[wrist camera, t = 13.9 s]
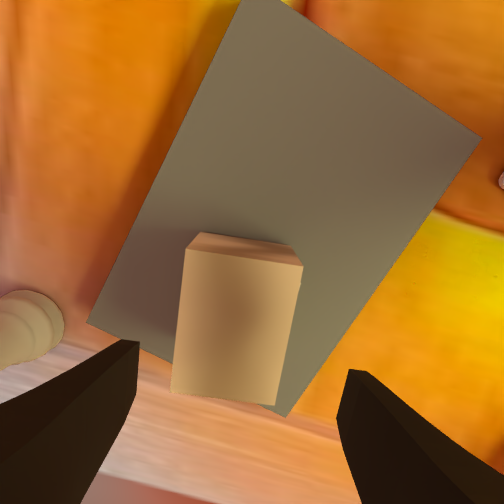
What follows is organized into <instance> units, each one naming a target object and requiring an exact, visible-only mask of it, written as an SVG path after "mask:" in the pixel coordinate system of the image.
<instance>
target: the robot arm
mask: <svg viewBox="0 0 504 504" xmlns="http://www.w3.org/2000/svg"><path fill="white" fill-rule="evenodd" d="M499 186H500V187H501V188H502V189H504V172H503V173H502V175H501V176H500V178H499ZM139 348H140V341H132V340H124V339H121V340H119V341H117V342H116V343H114V344H112V345H110V346H109V347H107V348H105V349H104V350H102V351H100V352H99V353H97V354H96V355H94V356H92V357H90V358H89V359H87V360H85V361H84V362H82V363H80V364H78V365H77V366H75V367H73V368H72V369H70V370H68V371H66V372H64V373H62V374H60V375H59V376H57V377H55V378H53V379H51V380H49V381H47V382H45V383H44V384H42V385H40V386H38V387H36V388H34V389H32V390H30V391H28V392H26V393H24V394H21V395H19V396H17V397H15V398H13V399H10V400H8V401H6V402H4V403H1V404H0V504H80V503H81V501H82V499H83V497H84V495H85V494H86V492H87V490H88V488H89V487H90V485H91V483H92V481H93V479H94V477H95V476H96V474H97V472H98V470H99V468H100V467H101V465H102V463H103V461H104V459H105V458H106V456H107V454H108V452H109V450H110V449H111V447H112V445H113V443H114V441H115V439H116V438H117V436H118V434H119V432H120V430H121V428H122V426H123V425H124V422H125V420H126V418H127V415H128V413H129V411H130V408H131V406H132V403H133V401H134V398H135V395H136V390H137V376H138V362H139ZM336 420H337V425H338V429H339V434H340V439H341V443H342V447H343V451H344V454H345V457H346V460H347V462H348V465H349V468H350V471H351V474H352V477H353V480H354V482H355V485H356V488H357V491H358V494H359V497H360V499H361V502H362V504H504V475H502V474H501V473H499V472H498V471H496V470H495V469H493V468H492V467H490V466H489V465H487V464H486V463H484V462H483V461H481V460H480V459H478V458H477V457H475V456H474V455H472V454H471V453H469V452H468V451H467V450H465V449H464V448H462V447H461V446H460V445H458V444H457V443H456V442H454V441H453V440H451V439H450V438H449V437H448V436H446V435H445V434H444V433H442V432H441V431H440V430H438V429H437V428H436V427H434V426H433V425H432V424H431V423H429V422H428V421H427V420H426V419H424V418H423V417H422V416H421V415H419V414H418V413H417V412H416V411H415V410H413V409H412V408H411V407H410V406H409V405H407V404H406V403H405V402H404V401H403V400H401V399H400V398H399V397H398V396H397V395H395V394H394V393H393V392H392V391H391V390H390V389H388V388H387V387H386V386H385V385H384V384H382V383H381V382H380V381H379V380H377V379H376V378H375V377H374V376H372V375H371V374H370V373H368V372H367V371H362V370H354V369H349V371H348V375H347V379H346V383H345V386H344V390H343V394H342V398H341V402H340V406H339V409H338V413H337V417H336Z"/></svg>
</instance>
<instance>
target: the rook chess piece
mask: <svg viewBox="0 0 504 504" xmlns="http://www.w3.org/2000/svg"><path fill="white" fill-rule="evenodd" d="M64 327H65V325H64V321H63V317H62V313H61V311H60V309H59V308H58V306H57V305H56V304H55V302H53V301H52V300H51V299H49V298H48V297H46V296H45V295H43V294H40V293H37V292H33V291H30V290H17V291H11V292H10V293H8V294H6V295H4V296H2V297H1V298H0V371H1V370H3V369H4V368H6V367H8V366H10V365H16V364H20V363H22V362H30V361H32V360H35V359H37V358H39V357H41V356H43V355H45V354H46V353H47V352H48V350H50V349H52V348H54V347H56V345H57V344H58V343H59V342H60V340H61V339H62V337H63V332H64Z"/></svg>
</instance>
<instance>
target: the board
mask: <svg viewBox="0 0 504 504" xmlns="http://www.w3.org/2000/svg"><path fill="white" fill-rule="evenodd" d="M481 139H482V138H481V137H480V136H478V135H477V134H475V133H474V132H473V131H471V130H470V129H468V128H467V127H465V126H464V125H462V124H461V123H459V122H458V121H456V120H455V119H453V118H452V117H451V116H449V115H448V114H446V113H445V112H443V111H442V110H440V109H439V108H437V107H436V106H434V105H433V104H432V103H430V102H429V101H427V100H426V99H424V98H423V97H421V96H420V95H418V94H417V93H415V92H414V91H412V90H411V89H410V88H408V87H407V86H405V85H404V84H402V83H401V82H399V81H398V80H396V79H395V78H393V77H392V76H390V75H389V74H388V73H386V72H385V71H383V70H382V69H380V68H379V67H377V66H376V65H374V64H373V63H371V62H370V61H368V60H367V59H366V58H364V57H363V56H361V55H360V54H358V53H357V52H355V51H354V50H352V49H351V48H349V47H348V46H346V45H345V44H344V43H342V42H341V41H339V40H338V39H336V38H335V37H333V36H332V35H330V34H329V33H327V32H326V31H325V30H323V29H322V28H320V27H319V26H317V25H316V24H314V23H313V22H311V21H310V20H308V19H307V18H305V17H304V16H303V15H301V14H300V13H298V12H297V11H295V10H294V9H292V8H291V7H289V6H288V5H286V4H285V3H283V2H282V1H281V0H241V2H240V4H239V6H238V8H237V10H236V12H235V14H234V16H233V18H232V21H231V23H230V25H229V27H228V29H227V31H226V33H225V35H224V37H223V39H222V41H221V43H220V45H219V48H218V50H217V52H216V54H215V56H214V58H213V60H212V62H211V64H210V66H209V68H208V70H207V72H206V74H205V77H204V79H203V81H202V83H201V85H200V87H199V89H198V91H197V93H196V95H195V97H194V99H193V101H192V104H191V106H190V108H189V110H188V112H187V114H186V116H185V118H184V120H183V122H182V124H181V126H180V128H179V131H178V133H177V135H176V137H175V139H174V141H173V143H172V145H171V147H170V149H169V151H168V153H167V155H166V158H165V160H164V162H163V164H162V166H161V168H160V170H159V172H158V174H157V176H156V178H155V180H154V182H153V184H152V187H151V189H150V191H149V193H148V195H147V197H146V199H145V201H144V203H143V205H142V207H141V209H140V211H139V214H138V216H137V218H136V220H135V222H134V224H133V226H132V228H131V230H130V232H129V234H128V236H127V238H126V241H125V243H124V245H123V247H122V249H121V251H120V253H119V255H118V257H117V259H116V261H115V263H114V265H113V267H112V270H111V272H110V274H109V276H108V278H107V280H106V282H105V284H104V286H103V288H102V290H101V292H100V294H99V297H98V299H97V301H96V303H95V305H94V307H93V309H92V311H91V313H90V315H89V317H88V319H87V321H86V323H88V324H90V325H92V326H94V327H97V328H99V329H101V330H103V331H105V332H107V333H109V334H111V335H113V336H115V337H118V338H120V339H124V340H132V341H140V348H141V349H143V350H145V351H147V352H149V353H151V354H153V355H155V356H157V357H159V358H162V359H164V360H166V361H168V362H170V363H172V364H173V357H174V348H175V340H176V331H177V322H178V313H179V304H180V295H181V286H182V277H183V268H184V259H185V250H186V248H187V247H188V245H189V244H190V243H191V242H192V241H193V240H194V238H195V237H196V236H197V235H198V234H199V233H200V232H210V233H217V234H223V235H230V236H236V237H243V238H249V239H255V240H262V241H268V242H275V243H281V244H286V245H289V246H291V247H292V249H293V250H294V252H295V253H296V255H297V257H298V258H299V260H300V262H301V263H302V265H303V266H304V267H303V272H302V277H301V282H300V286H299V291H298V296H297V301H296V306H295V310H294V315H293V320H292V325H291V329H290V334H289V339H288V344H287V349H286V353H285V358H284V363H283V368H282V372H281V377H280V382H279V387H278V392H277V396H276V401H275V406H273V405H265V404H258V405H260V406H262V407H264V408H266V409H268V410H271V411H273V412H275V413H277V414H279V415H281V416H283V417H285V418H286V416H287V415H288V414H289V412H290V411H291V409H292V408H293V406H294V405H295V404H296V402H297V401H298V399H299V398H300V397H301V395H302V394H303V392H304V391H305V389H306V388H307V387H308V385H309V384H310V382H311V381H312V379H313V378H314V377H315V375H316V374H317V372H318V371H319V370H320V368H321V367H322V365H323V364H324V362H325V361H326V360H327V358H328V357H329V355H330V354H331V352H332V351H333V350H334V348H335V347H336V345H337V344H338V343H339V341H340V340H341V338H342V337H343V335H344V334H345V333H346V331H347V330H348V328H349V327H350V326H351V324H352V323H353V321H354V320H355V318H356V317H357V316H358V314H359V313H360V311H361V310H362V308H363V307H364V306H365V304H366V303H367V301H368V300H369V299H370V297H371V296H372V294H373V293H374V291H375V290H376V289H377V287H378V286H379V284H380V283H381V281H382V280H383V279H384V277H385V276H386V274H387V273H388V272H389V270H390V269H391V267H392V266H393V264H394V263H395V262H396V260H397V259H398V257H399V256H400V255H401V253H402V252H403V250H404V249H405V247H406V246H407V245H408V243H409V242H410V240H411V239H412V237H413V236H414V235H415V233H416V232H417V230H418V229H419V228H420V226H421V225H422V223H423V222H424V220H425V219H426V218H427V216H428V215H429V213H430V212H431V210H432V209H433V208H434V206H435V205H436V203H437V202H438V201H439V199H440V198H441V196H442V195H443V193H444V192H445V191H446V189H447V188H448V186H449V185H450V184H451V182H452V181H453V179H454V178H455V176H456V175H457V174H458V172H459V171H460V169H461V168H462V166H463V165H464V164H465V162H466V161H467V159H468V158H469V157H470V155H471V154H472V152H473V151H474V149H475V148H476V147H477V145H478V144H479V142H480V141H481ZM256 404H257V403H256Z"/></svg>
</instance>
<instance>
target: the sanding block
mask: <svg viewBox="0 0 504 504" xmlns="http://www.w3.org/2000/svg"><path fill="white" fill-rule="evenodd" d="M303 267H304V266H303V265H302V263H301V262H300V260H299V258H298V257H297V255H296V253H295V252H294V250H293V249H292V247H291V246H289V245H286V244H281V243H275V242H268V241H262V240H255V239H249V238H243V237H236V236H230V235H223V234H217V233H210V232H200V233H199V234H198V235H197V236H196V237H195V238H194V240H193V241H192V242H191V243H190V244H189V245H188V247H187V248H186V250H185V259H184V268H183V277H182V286H181V295H180V304H179V313H178V322H177V331H176V340H175V348H174V357H173V366H172V375H171V384H170V392H171V393H179V394H187V395H195V396H202V397H210V398H218V399H226V400H234V401H241V402H249V403H257V404H265V405H273V406H275V401H276V396H277V392H278V387H279V382H280V377H281V372H282V368H283V363H284V358H285V353H286V349H287V344H288V339H289V334H290V329H291V325H292V320H293V315H294V310H295V306H296V301H297V296H298V291H299V286H300V282H301V277H302V272H303Z"/></svg>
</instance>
